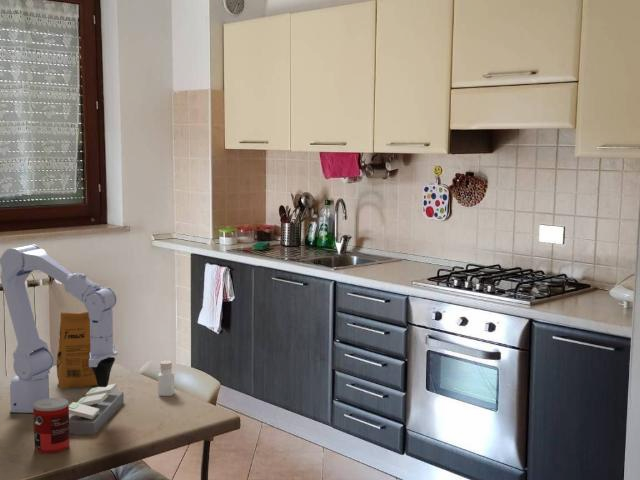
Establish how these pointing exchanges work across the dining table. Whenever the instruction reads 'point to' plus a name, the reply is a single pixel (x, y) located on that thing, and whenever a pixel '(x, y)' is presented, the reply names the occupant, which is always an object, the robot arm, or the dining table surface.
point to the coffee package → (74, 352)
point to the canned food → (51, 425)
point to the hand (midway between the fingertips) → (102, 386)
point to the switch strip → (97, 422)
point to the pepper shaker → (166, 379)
